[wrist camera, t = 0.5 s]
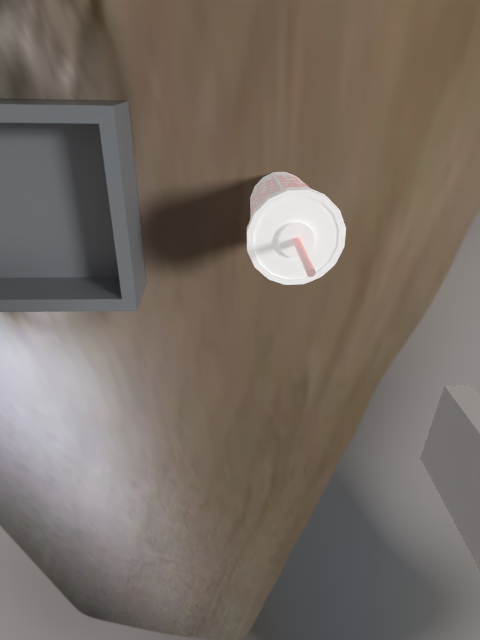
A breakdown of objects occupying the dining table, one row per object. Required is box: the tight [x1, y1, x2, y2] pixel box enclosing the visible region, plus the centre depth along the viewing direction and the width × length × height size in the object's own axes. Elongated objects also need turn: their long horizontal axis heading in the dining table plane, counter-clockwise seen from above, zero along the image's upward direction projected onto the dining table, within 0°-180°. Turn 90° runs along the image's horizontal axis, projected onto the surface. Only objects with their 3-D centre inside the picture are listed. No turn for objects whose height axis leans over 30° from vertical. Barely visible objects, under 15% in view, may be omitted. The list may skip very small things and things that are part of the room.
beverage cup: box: [247, 172, 346, 285], centre depth 28 cm, size 6×6×14 cm
